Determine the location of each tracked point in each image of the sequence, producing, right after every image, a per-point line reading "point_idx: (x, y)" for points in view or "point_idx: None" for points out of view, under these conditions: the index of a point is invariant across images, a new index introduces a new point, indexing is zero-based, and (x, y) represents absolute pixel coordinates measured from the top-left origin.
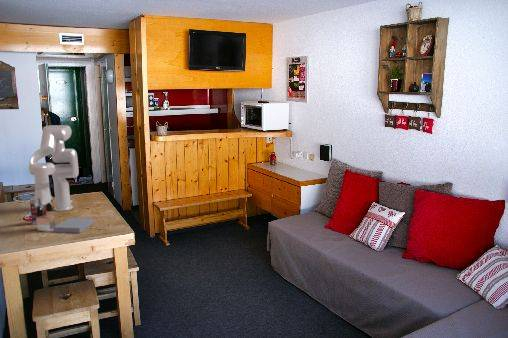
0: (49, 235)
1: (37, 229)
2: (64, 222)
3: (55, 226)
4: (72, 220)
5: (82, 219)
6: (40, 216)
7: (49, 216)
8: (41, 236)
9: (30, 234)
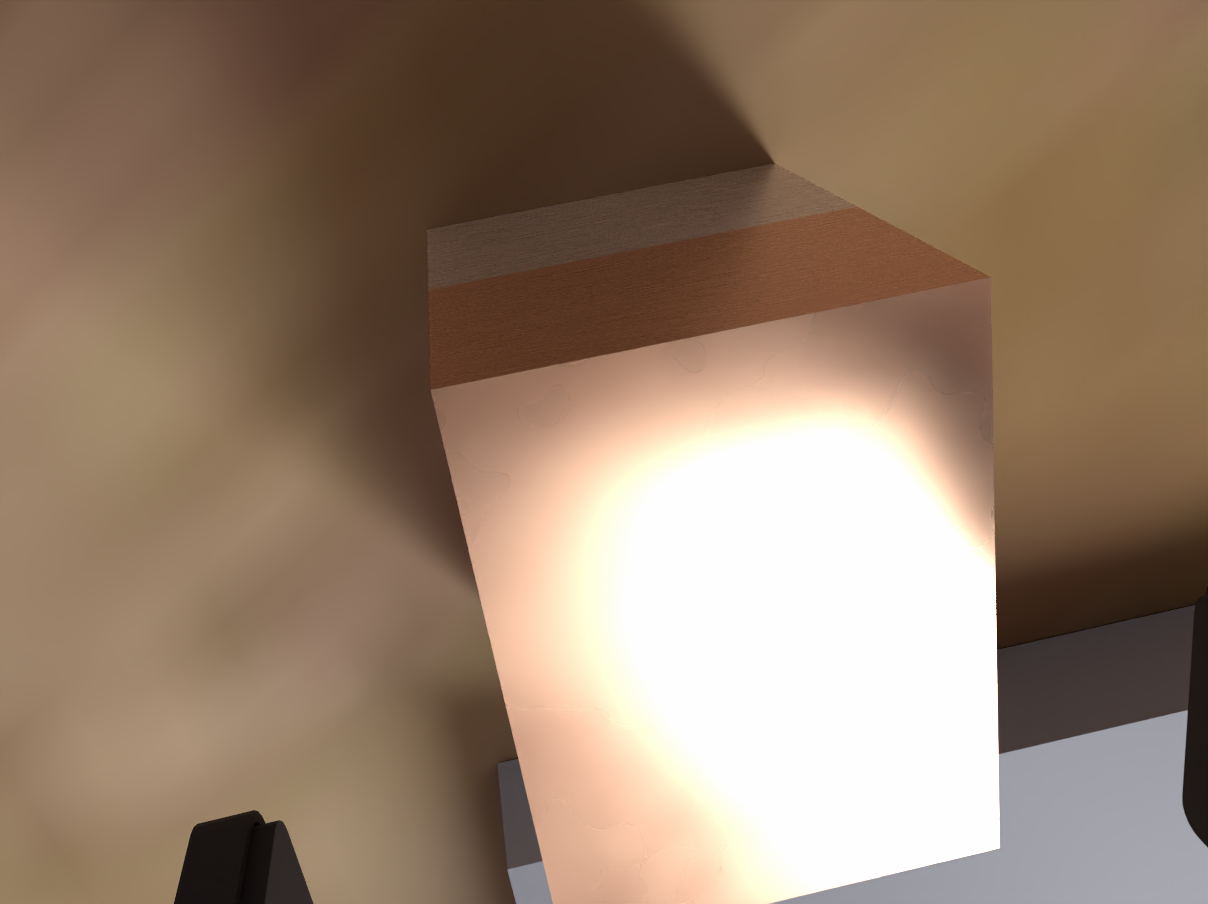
0: None
1: (429, 240)
2: None
3: None
4: (1172, 901)
5: None
6: (761, 378)
7: (848, 763)
8: (56, 718)
9: (28, 271)
